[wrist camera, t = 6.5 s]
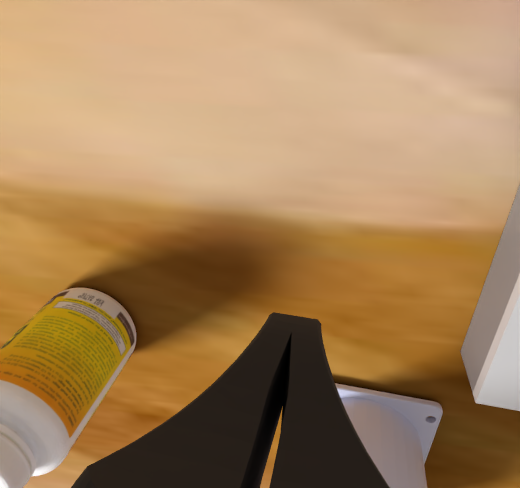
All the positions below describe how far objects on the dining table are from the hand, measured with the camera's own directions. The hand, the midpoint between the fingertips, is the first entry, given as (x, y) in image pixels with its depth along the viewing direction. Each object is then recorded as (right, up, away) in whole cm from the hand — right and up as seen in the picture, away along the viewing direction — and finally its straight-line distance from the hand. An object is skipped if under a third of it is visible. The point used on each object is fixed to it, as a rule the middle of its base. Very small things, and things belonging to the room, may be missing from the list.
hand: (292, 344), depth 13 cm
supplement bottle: (-11, -2, +14) cm, 18 cm away
